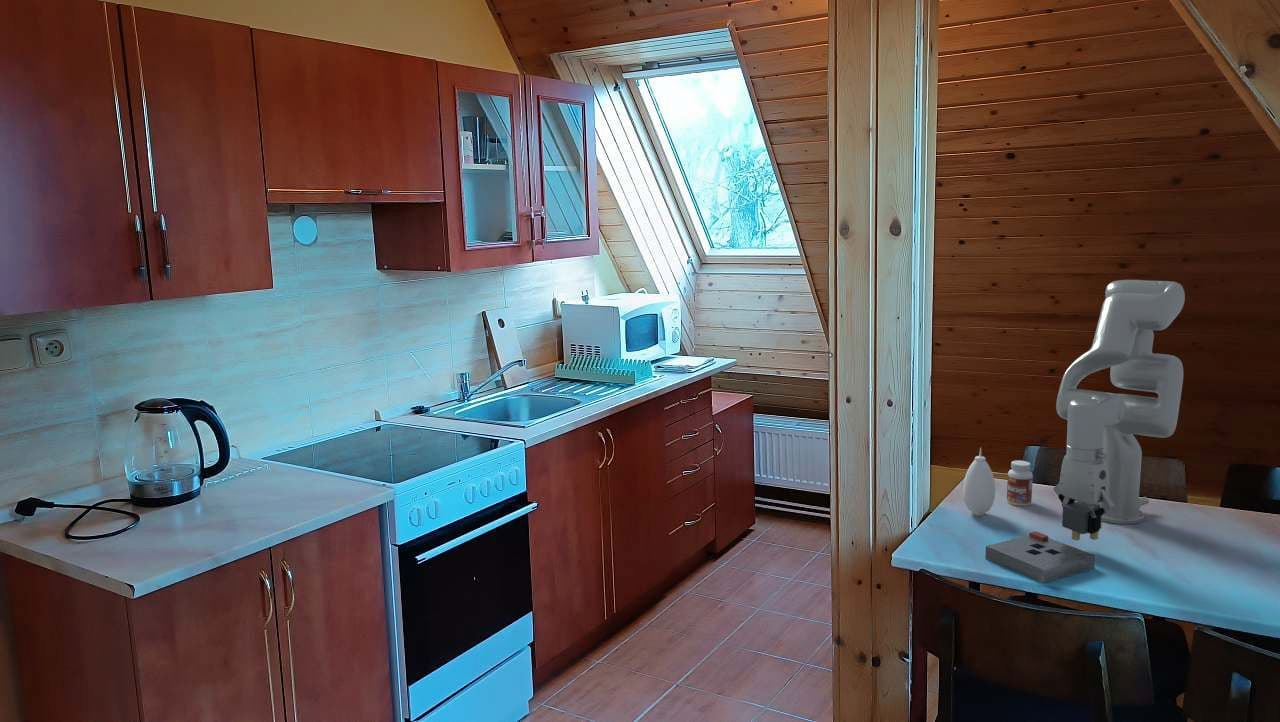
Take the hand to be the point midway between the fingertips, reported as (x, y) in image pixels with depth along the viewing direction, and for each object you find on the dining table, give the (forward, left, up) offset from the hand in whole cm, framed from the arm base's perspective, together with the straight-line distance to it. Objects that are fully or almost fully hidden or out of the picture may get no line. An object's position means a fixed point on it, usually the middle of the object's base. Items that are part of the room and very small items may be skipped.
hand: (1081, 527), depth 214 cm
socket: (+14, 0, -6) cm, 15 cm away
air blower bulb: (+1, -30, -6) cm, 30 cm away
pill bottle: (-15, -31, -6) cm, 35 cm away
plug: (0, 0, -3) cm, 3 cm away
